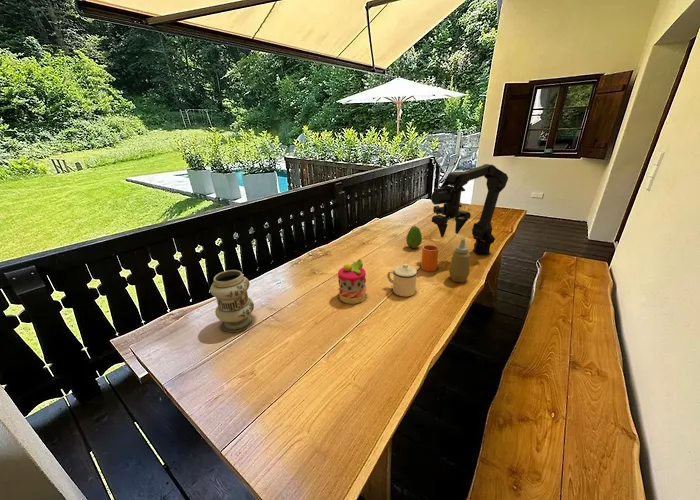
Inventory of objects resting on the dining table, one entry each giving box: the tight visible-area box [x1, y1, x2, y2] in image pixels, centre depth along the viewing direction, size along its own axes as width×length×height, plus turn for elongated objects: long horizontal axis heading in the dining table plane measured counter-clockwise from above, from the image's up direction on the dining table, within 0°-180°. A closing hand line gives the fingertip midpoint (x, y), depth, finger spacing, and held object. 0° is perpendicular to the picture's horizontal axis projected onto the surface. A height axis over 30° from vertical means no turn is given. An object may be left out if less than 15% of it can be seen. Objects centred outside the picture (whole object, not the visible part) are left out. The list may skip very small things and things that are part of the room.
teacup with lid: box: [386, 263, 418, 297], centre depth 116 cm, size 12×9×12 cm
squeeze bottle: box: [448, 238, 471, 283], centre depth 122 cm, size 8×8×18 cm
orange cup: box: [420, 244, 440, 272], centre depth 134 cm, size 7×7×10 cm
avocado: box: [405, 225, 423, 249], centre depth 157 cm, size 8×8×12 cm
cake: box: [337, 258, 367, 305], centre depth 112 cm, size 10×11×15 cm
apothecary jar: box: [209, 269, 255, 333], centre depth 97 cm, size 12×12×18 cm
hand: (449, 235), depth 138 cm, fingers open, 9 cm apart
